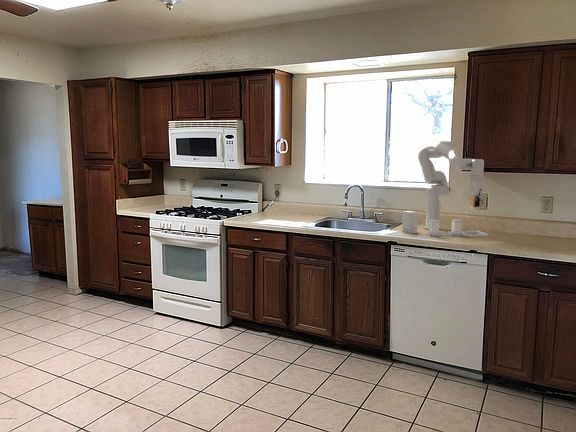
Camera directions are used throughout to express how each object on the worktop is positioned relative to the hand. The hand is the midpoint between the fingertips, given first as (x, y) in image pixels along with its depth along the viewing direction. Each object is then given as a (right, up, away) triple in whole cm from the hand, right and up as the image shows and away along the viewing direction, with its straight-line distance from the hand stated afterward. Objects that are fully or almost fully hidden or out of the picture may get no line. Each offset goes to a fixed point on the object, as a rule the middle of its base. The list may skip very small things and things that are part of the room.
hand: (475, 205), depth 305 cm
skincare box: (-40, -19, +12) cm, 46 cm away
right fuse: (-12, -19, +1) cm, 23 cm away
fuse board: (-20, -21, 0) cm, 29 cm away
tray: (0, -20, +3) cm, 21 cm away
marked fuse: (0, -2, 0) cm, 2 cm away
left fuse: (-28, -19, -2) cm, 34 cm away
